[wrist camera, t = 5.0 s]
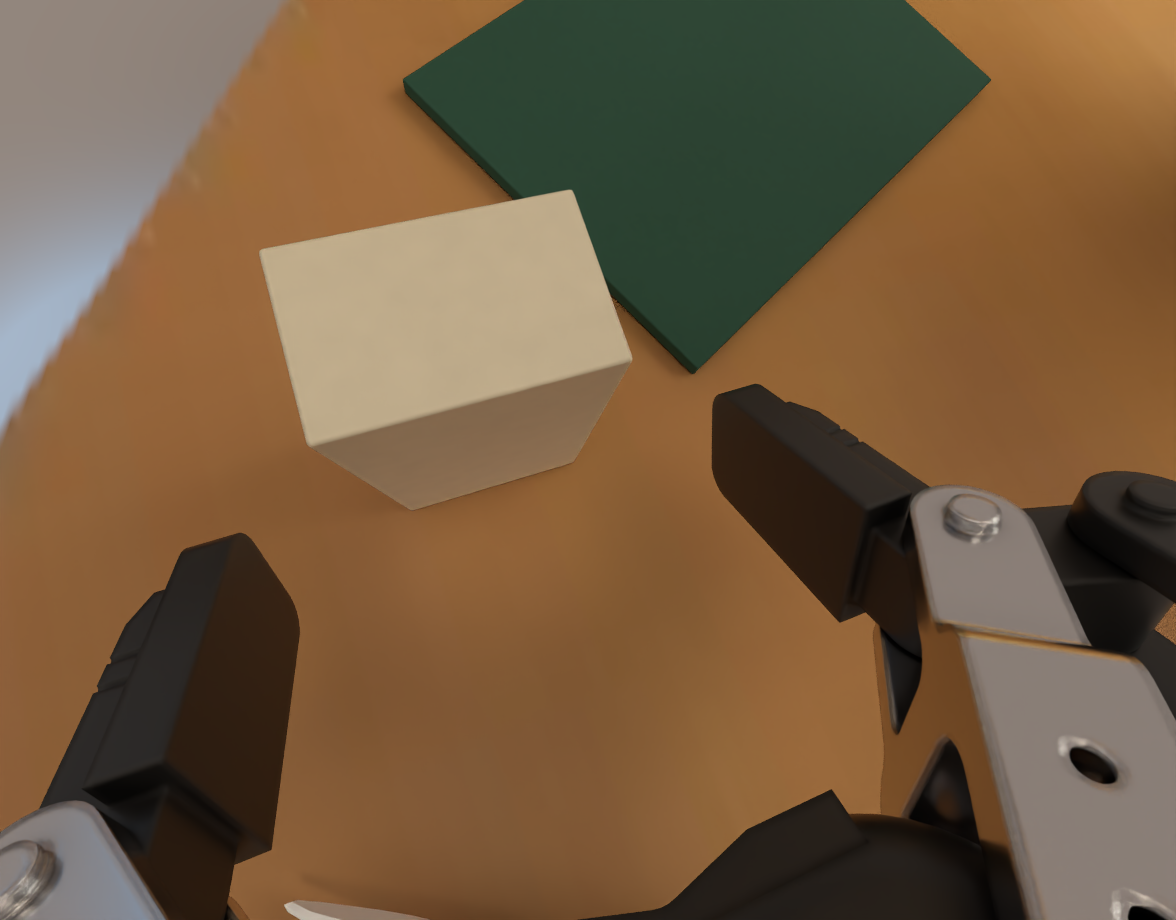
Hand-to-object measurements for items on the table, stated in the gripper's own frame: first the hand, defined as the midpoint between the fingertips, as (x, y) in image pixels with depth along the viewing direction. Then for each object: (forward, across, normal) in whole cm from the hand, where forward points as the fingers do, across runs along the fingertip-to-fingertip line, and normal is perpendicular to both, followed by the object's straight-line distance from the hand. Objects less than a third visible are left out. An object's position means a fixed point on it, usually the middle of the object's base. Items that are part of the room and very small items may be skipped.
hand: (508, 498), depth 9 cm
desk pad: (+16, -13, -4) cm, 21 cm away
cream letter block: (+8, 0, +4) cm, 9 cm away
